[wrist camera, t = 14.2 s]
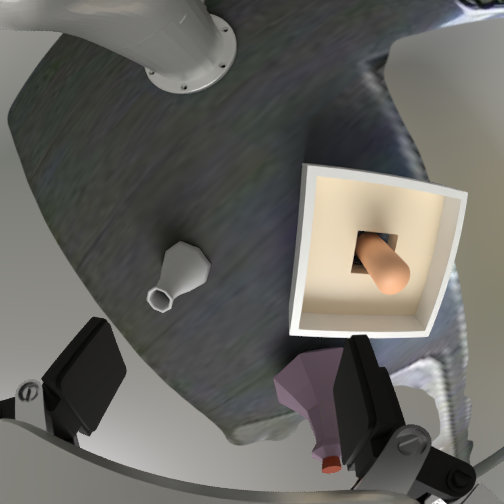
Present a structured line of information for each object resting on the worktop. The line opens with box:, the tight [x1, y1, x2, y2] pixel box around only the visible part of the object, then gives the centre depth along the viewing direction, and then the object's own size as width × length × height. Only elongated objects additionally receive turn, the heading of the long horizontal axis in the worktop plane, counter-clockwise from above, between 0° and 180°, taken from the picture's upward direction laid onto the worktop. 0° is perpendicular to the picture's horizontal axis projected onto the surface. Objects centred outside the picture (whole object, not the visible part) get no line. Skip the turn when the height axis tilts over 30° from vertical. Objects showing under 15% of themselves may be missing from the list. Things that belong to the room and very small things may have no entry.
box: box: [289, 163, 468, 338], centre depth 32 cm, size 20×20×7 cm
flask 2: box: [273, 347, 343, 473], centre depth 34 cm, size 16×16×20 cm
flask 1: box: [147, 241, 211, 313], centre depth 34 cm, size 7×7×10 cm
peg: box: [355, 232, 410, 295], centre depth 31 cm, size 4×4×10 cm
